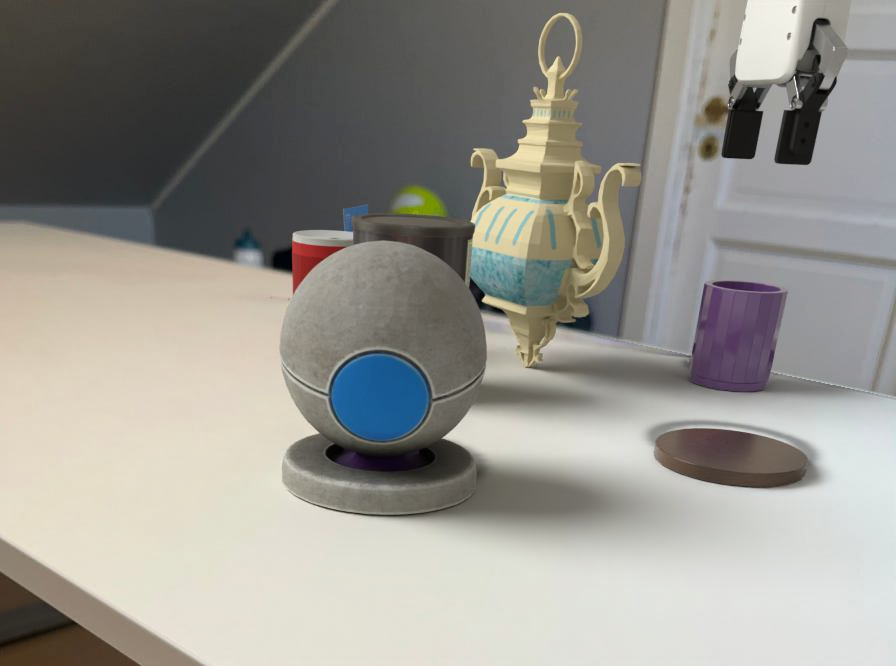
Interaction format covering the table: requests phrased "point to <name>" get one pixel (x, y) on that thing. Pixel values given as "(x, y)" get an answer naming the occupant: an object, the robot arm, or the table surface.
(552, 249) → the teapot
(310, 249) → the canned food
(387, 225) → the coffee can
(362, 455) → the webcam
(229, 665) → the table surface
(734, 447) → the coaster
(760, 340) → the cup
